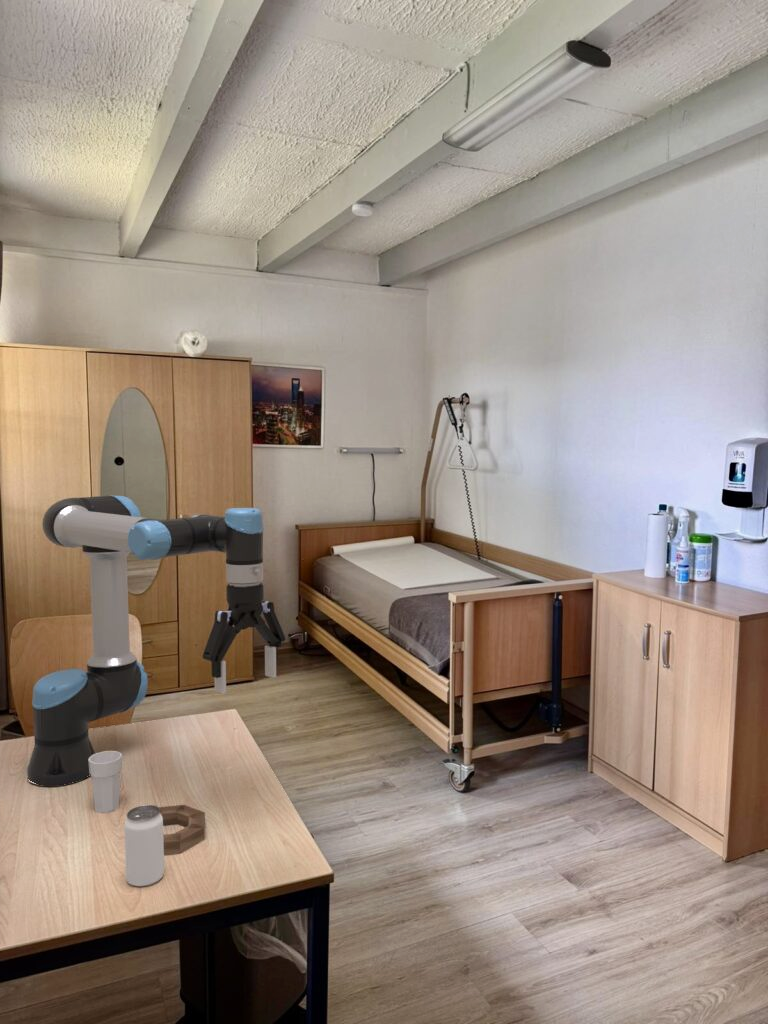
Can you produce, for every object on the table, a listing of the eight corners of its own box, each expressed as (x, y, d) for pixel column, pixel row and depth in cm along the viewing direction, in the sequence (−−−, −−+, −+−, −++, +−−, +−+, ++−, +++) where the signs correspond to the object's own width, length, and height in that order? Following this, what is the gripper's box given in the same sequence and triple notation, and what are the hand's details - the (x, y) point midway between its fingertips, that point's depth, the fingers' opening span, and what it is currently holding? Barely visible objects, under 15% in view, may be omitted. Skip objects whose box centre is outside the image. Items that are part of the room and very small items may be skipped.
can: (131, 868, 134) (129, 804, 133) (167, 866, 134) (166, 803, 133) (121, 888, 127) (119, 822, 126) (159, 887, 128) (158, 820, 127)
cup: (129, 806, 157) (127, 756, 156) (99, 817, 152) (97, 766, 151) (114, 796, 161) (112, 748, 160) (84, 807, 157) (82, 757, 156)
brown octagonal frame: (112, 841, 143) (111, 828, 143) (170, 810, 155) (170, 799, 155) (162, 863, 135) (162, 850, 135) (220, 830, 147) (219, 818, 147)
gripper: (207, 594, 139) (209, 703, 141) (301, 577, 159) (301, 673, 160) (183, 589, 144) (185, 695, 146) (276, 573, 163) (277, 667, 165)
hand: (246, 684), depth 153 cm, fingers open, 13 cm apart
